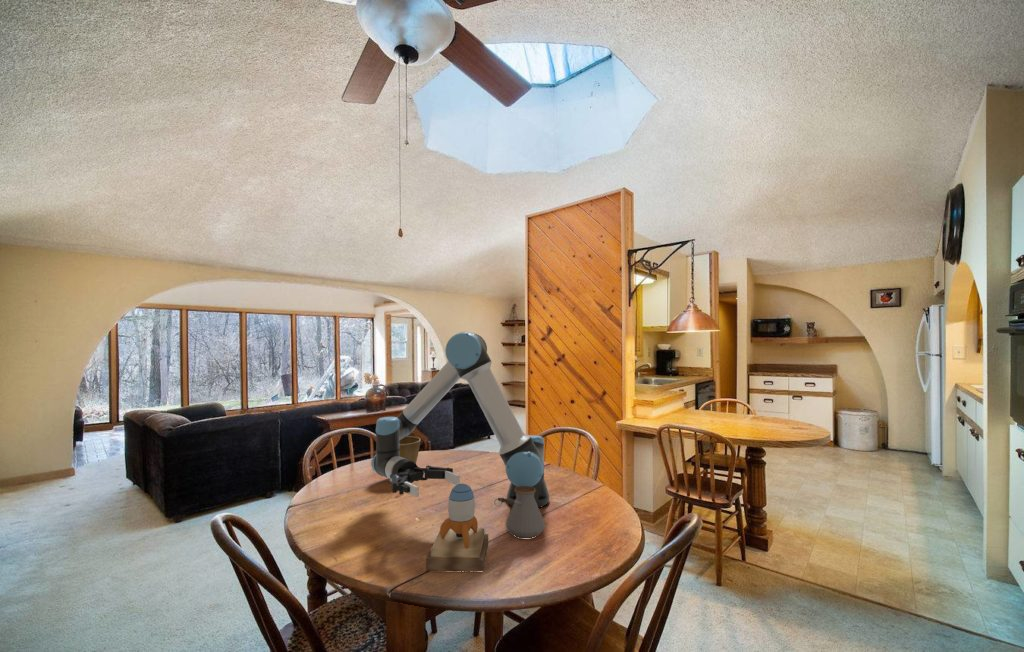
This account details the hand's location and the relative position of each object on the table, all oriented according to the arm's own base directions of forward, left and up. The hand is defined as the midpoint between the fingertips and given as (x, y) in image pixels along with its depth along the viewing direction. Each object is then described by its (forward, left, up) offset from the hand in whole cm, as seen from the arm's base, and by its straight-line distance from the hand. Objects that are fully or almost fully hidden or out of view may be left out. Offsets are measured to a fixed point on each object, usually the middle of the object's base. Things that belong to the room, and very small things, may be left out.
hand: (438, 485), depth 117 cm
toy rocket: (-7, +7, -11) cm, 15 cm away
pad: (-7, +7, -16) cm, 19 cm away
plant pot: (+28, -58, -16) cm, 66 cm away
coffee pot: (-22, -3, -16) cm, 27 cm away
